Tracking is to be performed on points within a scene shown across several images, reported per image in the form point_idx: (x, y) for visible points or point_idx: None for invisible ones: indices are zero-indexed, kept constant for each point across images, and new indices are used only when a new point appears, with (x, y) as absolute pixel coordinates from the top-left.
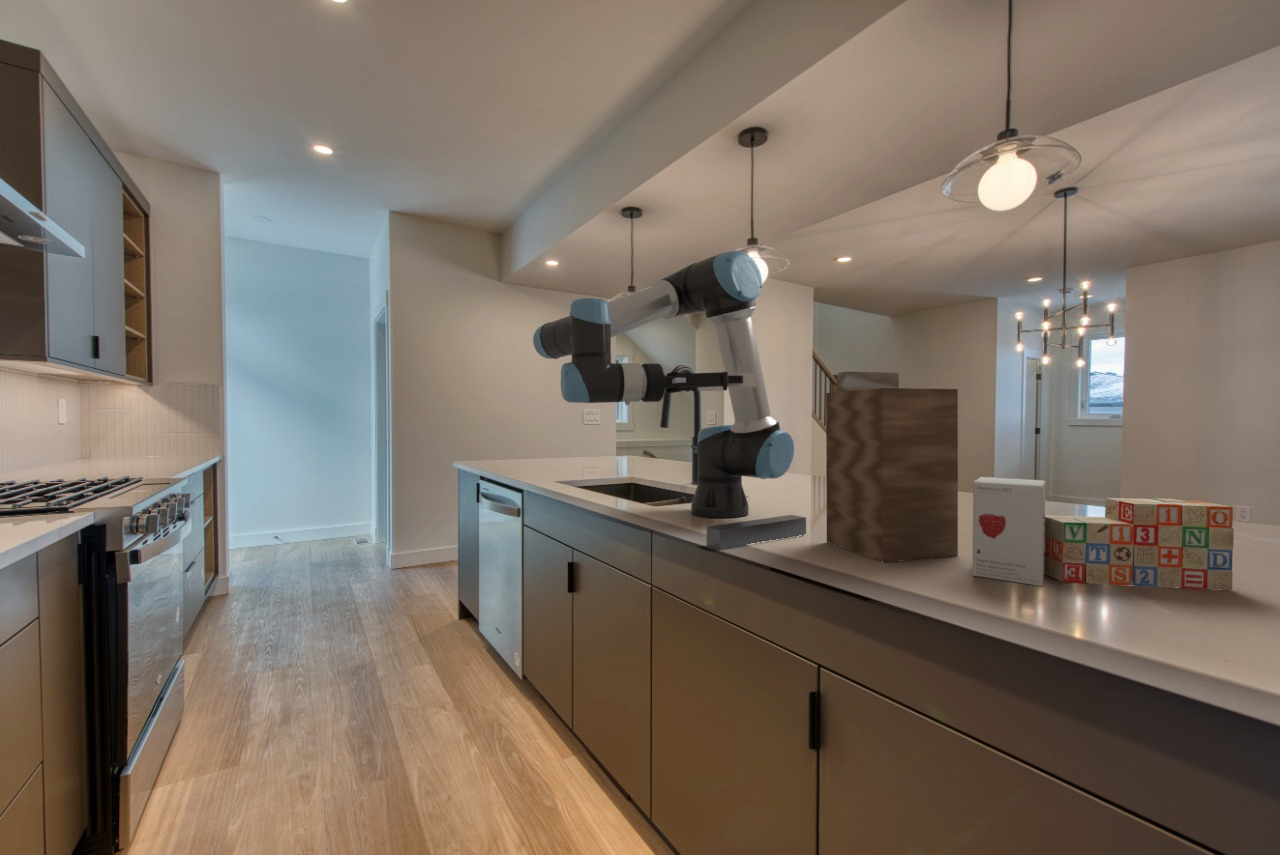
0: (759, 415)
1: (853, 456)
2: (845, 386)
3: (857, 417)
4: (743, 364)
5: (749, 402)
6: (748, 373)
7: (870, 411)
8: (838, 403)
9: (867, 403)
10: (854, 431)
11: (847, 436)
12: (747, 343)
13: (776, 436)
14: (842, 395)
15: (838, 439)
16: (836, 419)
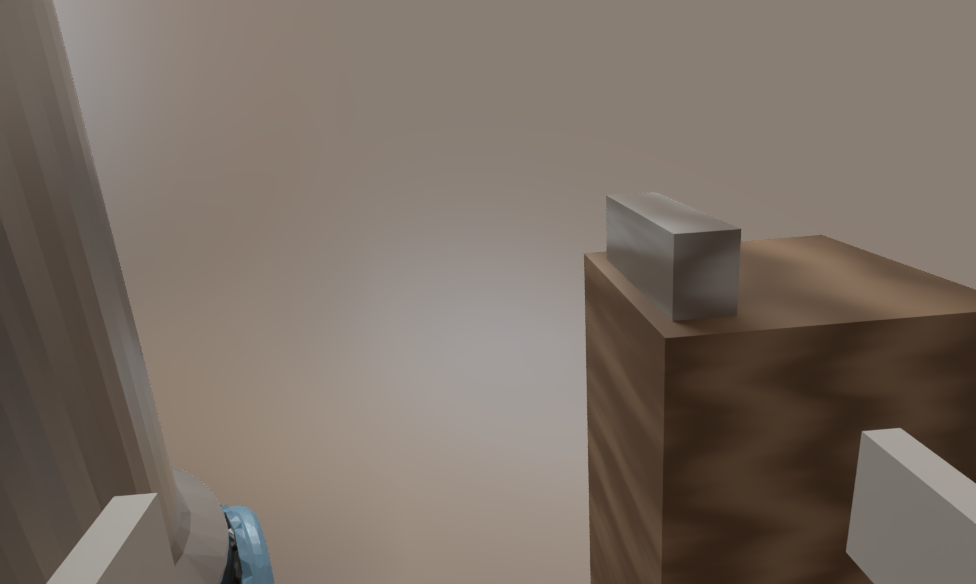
0: (166, 527)
1: (828, 561)
2: (723, 292)
3: (867, 424)
4: (46, 236)
5: (114, 495)
6: (967, 485)
7: (942, 396)
8: (752, 378)
9: (931, 368)
10: (844, 476)
11: (799, 498)
12: (45, 35)
13: (272, 576)
14: (780, 343)
15: (744, 516)
16: (733, 443)
